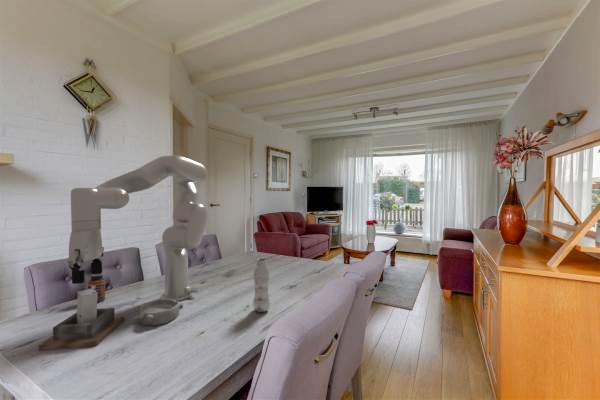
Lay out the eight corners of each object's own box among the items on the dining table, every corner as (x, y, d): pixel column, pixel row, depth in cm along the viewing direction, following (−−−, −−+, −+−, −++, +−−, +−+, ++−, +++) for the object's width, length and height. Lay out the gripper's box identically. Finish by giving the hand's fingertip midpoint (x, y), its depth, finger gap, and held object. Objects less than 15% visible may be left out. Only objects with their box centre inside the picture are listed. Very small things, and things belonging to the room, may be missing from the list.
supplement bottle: (95, 304, 111) (95, 277, 111) (84, 303, 112) (84, 276, 112) (108, 299, 117) (108, 273, 117) (97, 298, 118) (97, 272, 118)
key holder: (124, 320, 97) (124, 305, 97) (96, 345, 80) (97, 327, 80) (77, 323, 94) (77, 307, 94) (38, 350, 77) (38, 331, 77)
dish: (151, 331, 89) (151, 316, 89) (129, 320, 97) (129, 307, 97) (189, 315, 102) (189, 302, 102) (167, 307, 109) (167, 294, 109)
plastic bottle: (256, 315, 101) (256, 262, 101) (250, 309, 107) (251, 258, 107) (272, 312, 104) (272, 260, 104) (266, 306, 110) (266, 257, 110)
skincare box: (75, 328, 87) (75, 291, 87) (92, 323, 91) (92, 287, 91) (80, 334, 83) (80, 295, 83) (97, 329, 87) (97, 292, 87)
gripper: (89, 223, 95) (91, 271, 95) (53, 229, 78) (55, 288, 78) (113, 222, 96) (114, 270, 96) (82, 229, 79) (84, 286, 79)
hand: (88, 278), depth 87 cm, fingers open, 9 cm apart
